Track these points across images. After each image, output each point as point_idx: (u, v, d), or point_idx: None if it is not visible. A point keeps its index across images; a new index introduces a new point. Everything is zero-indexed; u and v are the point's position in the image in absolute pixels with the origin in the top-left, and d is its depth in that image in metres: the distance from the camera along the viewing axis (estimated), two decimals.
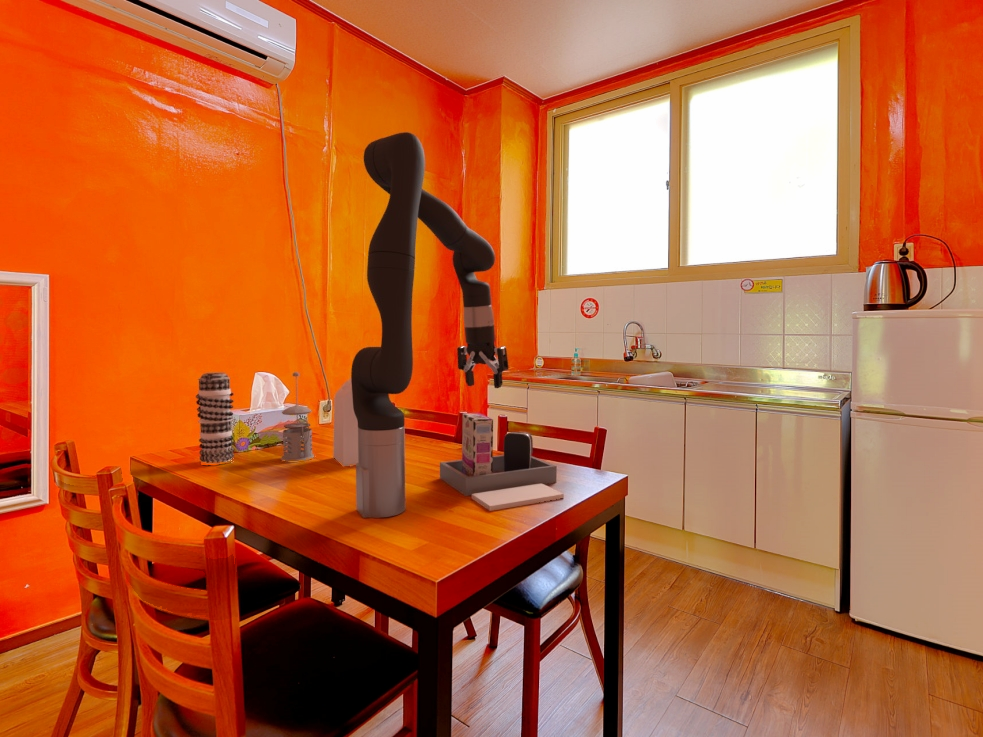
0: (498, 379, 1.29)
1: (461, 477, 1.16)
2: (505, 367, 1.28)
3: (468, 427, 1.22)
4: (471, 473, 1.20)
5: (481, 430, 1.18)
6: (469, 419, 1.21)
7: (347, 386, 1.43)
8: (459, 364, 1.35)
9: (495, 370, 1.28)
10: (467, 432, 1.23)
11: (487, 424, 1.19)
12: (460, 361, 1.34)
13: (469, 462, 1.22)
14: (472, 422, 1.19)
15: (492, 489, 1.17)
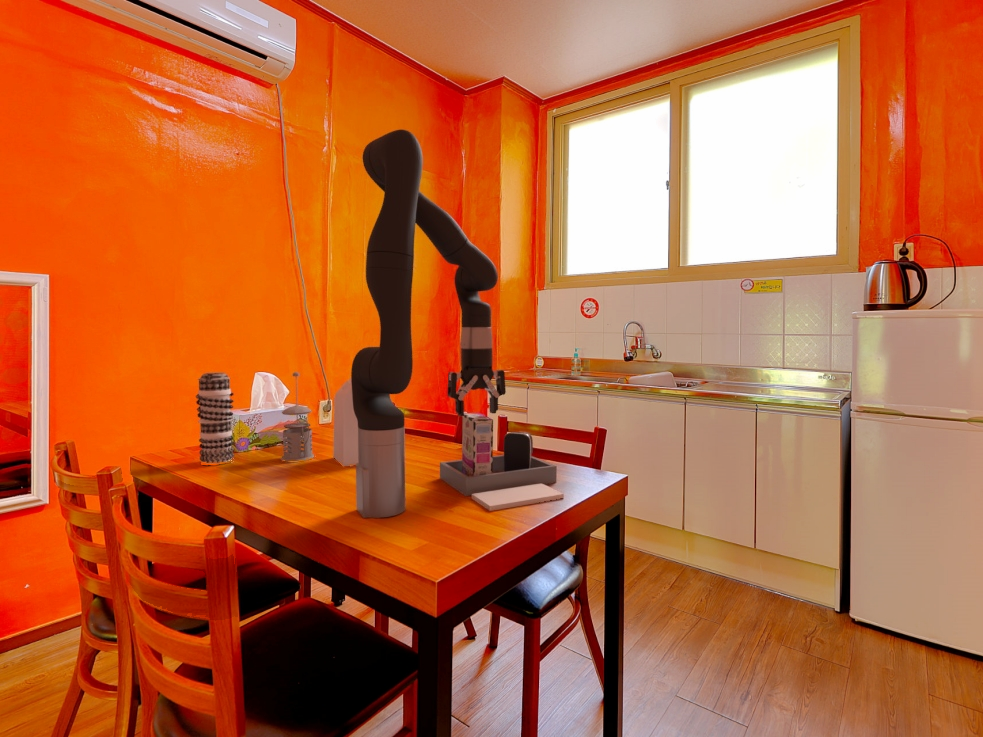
0: (497, 403, 1.25)
1: (461, 477, 1.16)
2: None
3: (468, 427, 1.22)
4: (471, 473, 1.20)
5: (481, 430, 1.18)
6: (469, 419, 1.21)
7: (347, 386, 1.43)
8: (454, 392, 1.19)
9: (497, 394, 1.24)
10: (467, 432, 1.23)
11: (487, 424, 1.19)
12: (455, 388, 1.19)
13: (469, 462, 1.22)
14: (472, 422, 1.19)
15: (492, 489, 1.17)
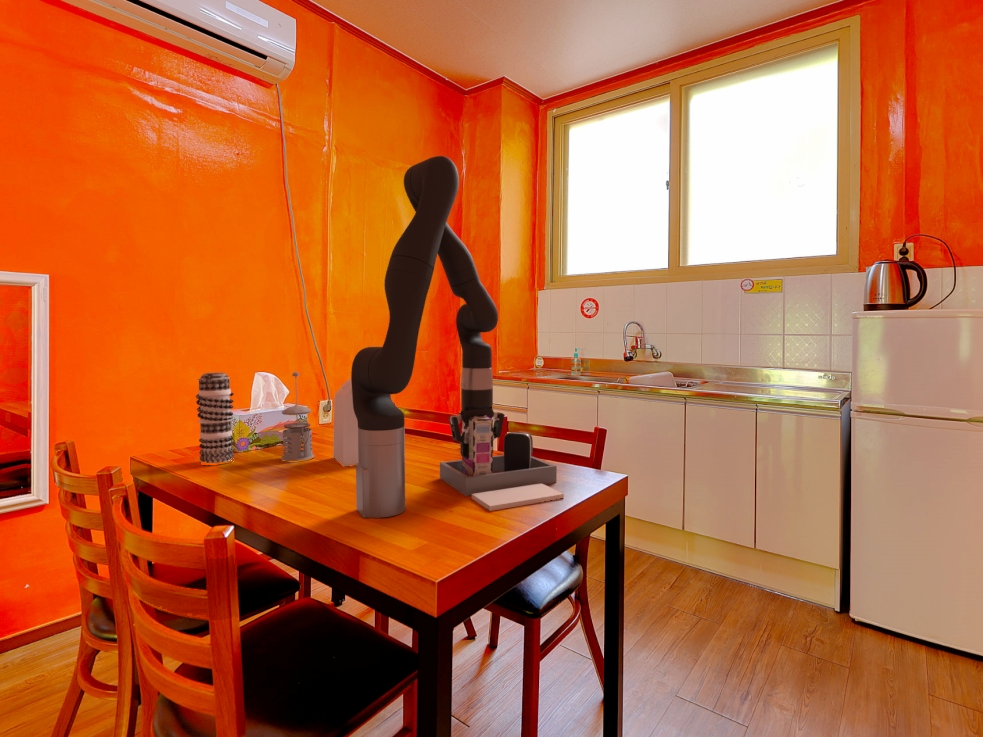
0: None
1: (461, 477, 1.16)
2: None
3: None
4: (471, 473, 1.20)
5: (481, 430, 1.18)
6: (469, 419, 1.21)
7: (347, 386, 1.43)
8: (458, 435, 1.20)
9: None
10: None
11: (487, 424, 1.19)
12: (458, 432, 1.20)
13: (468, 462, 1.22)
14: (472, 422, 1.19)
15: (492, 489, 1.17)
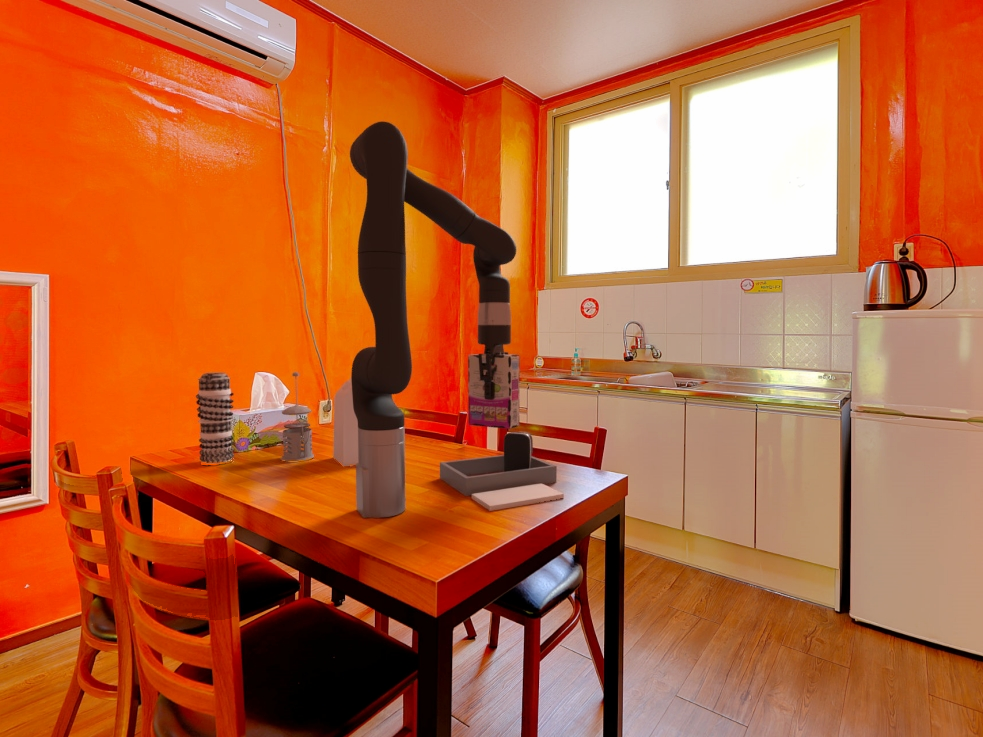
0: None
1: (461, 477, 1.16)
2: None
3: (492, 366, 1.15)
4: (503, 413, 1.14)
5: (514, 366, 1.14)
6: (495, 357, 1.14)
7: (347, 386, 1.43)
8: (491, 374, 1.12)
9: None
10: None
11: (516, 360, 1.16)
12: (491, 370, 1.12)
13: (494, 402, 1.15)
14: (505, 358, 1.13)
15: (492, 489, 1.17)
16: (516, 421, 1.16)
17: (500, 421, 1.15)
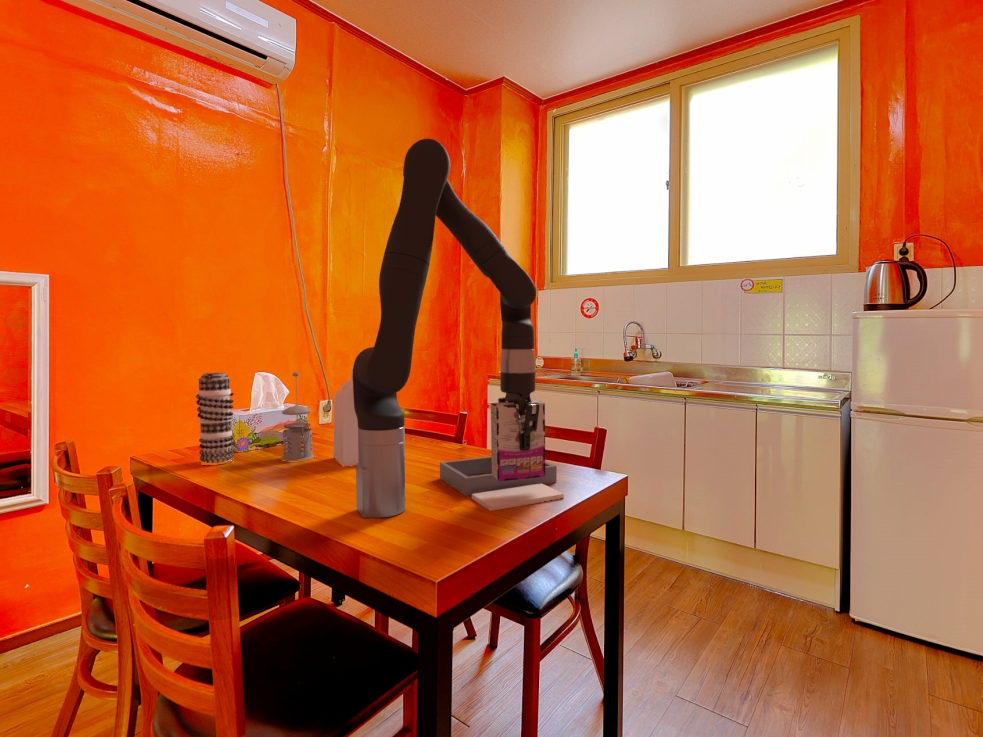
0: None
1: (461, 477, 1.16)
2: None
3: None
4: (537, 462, 1.11)
5: None
6: None
7: (347, 386, 1.43)
8: None
9: None
10: None
11: None
12: None
13: (529, 452, 1.10)
14: (540, 406, 1.11)
15: (492, 489, 1.17)
16: None
17: (535, 471, 1.11)
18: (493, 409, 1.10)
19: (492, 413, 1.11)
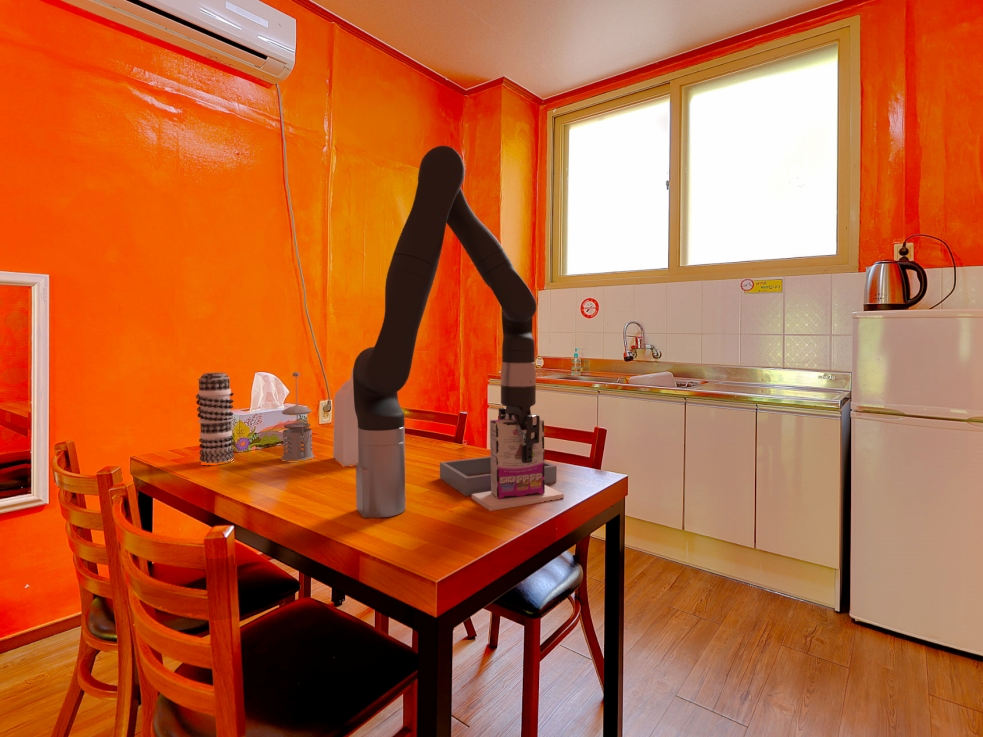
0: None
1: (461, 477, 1.16)
2: None
3: None
4: (537, 479, 1.11)
5: None
6: None
7: (347, 386, 1.43)
8: None
9: None
10: None
11: None
12: None
13: (528, 470, 1.11)
14: None
15: None
16: None
17: (534, 488, 1.11)
18: (493, 426, 1.10)
19: (491, 430, 1.11)
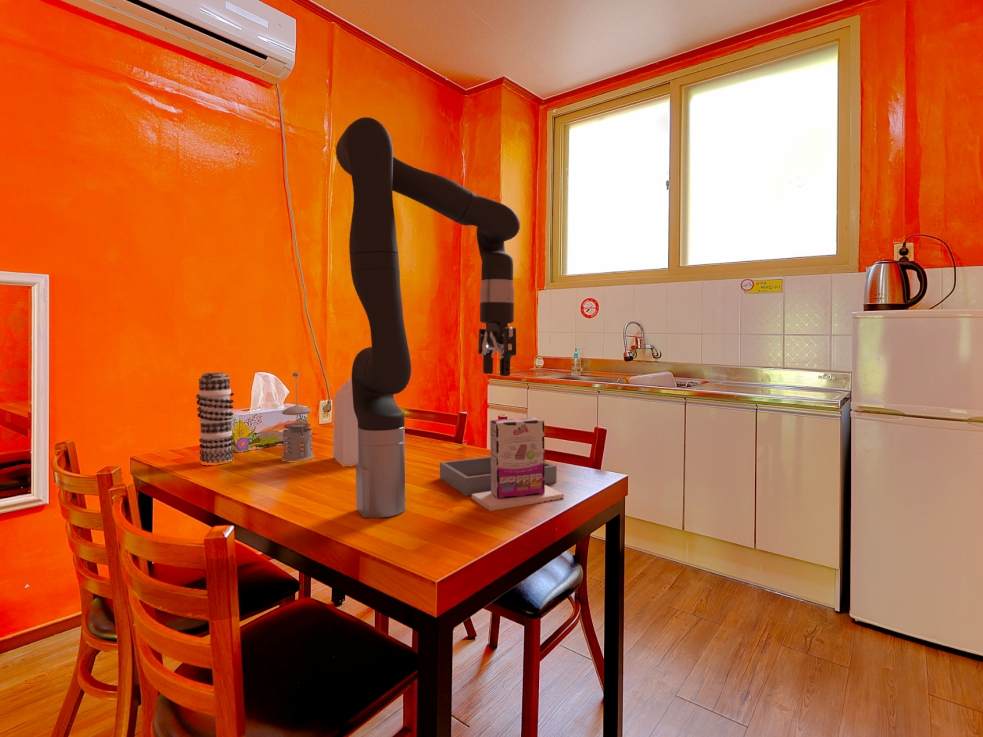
0: None
1: (461, 477, 1.16)
2: None
3: (525, 433, 1.10)
4: (537, 479, 1.11)
5: None
6: (528, 423, 1.10)
7: (347, 386, 1.43)
8: None
9: None
10: (522, 439, 1.10)
11: None
12: None
13: (528, 470, 1.11)
14: (539, 423, 1.11)
15: None
16: None
17: (534, 488, 1.11)
18: (493, 426, 1.10)
19: (492, 430, 1.11)
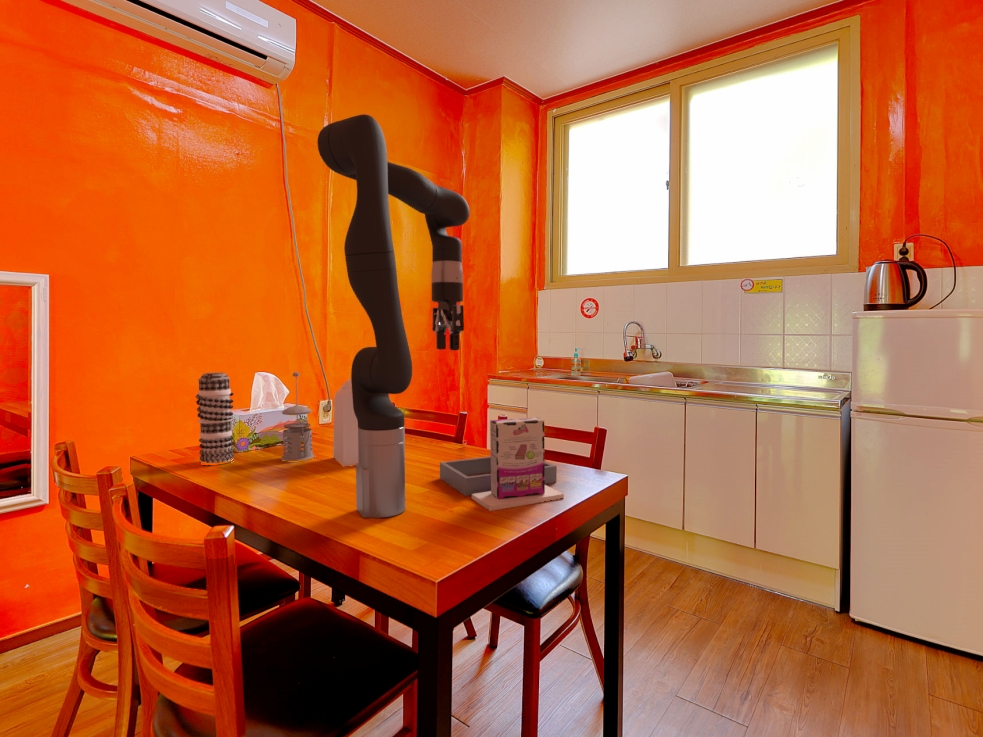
0: None
1: (461, 477, 1.16)
2: None
3: (525, 433, 1.10)
4: (537, 479, 1.11)
5: None
6: (528, 423, 1.10)
7: (347, 386, 1.43)
8: None
9: None
10: (522, 439, 1.10)
11: None
12: None
13: (528, 470, 1.11)
14: (539, 423, 1.11)
15: None
16: None
17: (534, 488, 1.11)
18: (493, 426, 1.10)
19: (492, 430, 1.11)
